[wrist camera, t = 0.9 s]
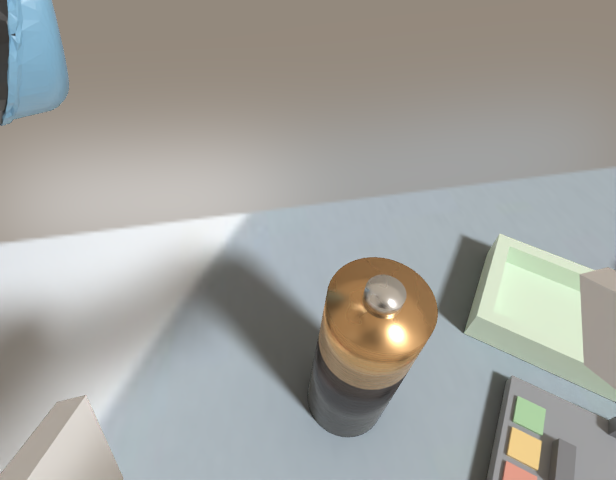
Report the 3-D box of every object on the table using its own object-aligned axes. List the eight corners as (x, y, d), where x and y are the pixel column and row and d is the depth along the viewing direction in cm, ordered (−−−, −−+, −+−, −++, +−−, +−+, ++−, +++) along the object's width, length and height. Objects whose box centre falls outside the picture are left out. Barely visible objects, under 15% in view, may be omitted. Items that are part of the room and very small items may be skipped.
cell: (292, 403, 27) (305, 297, 18) (335, 348, 30) (367, 230, 20) (356, 454, 26) (409, 369, 16) (395, 391, 28) (461, 285, 19)
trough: (463, 333, 32) (476, 315, 30) (487, 252, 37) (499, 233, 35) (700, 440, 28) (733, 428, 26) (688, 333, 33) (714, 316, 31)
